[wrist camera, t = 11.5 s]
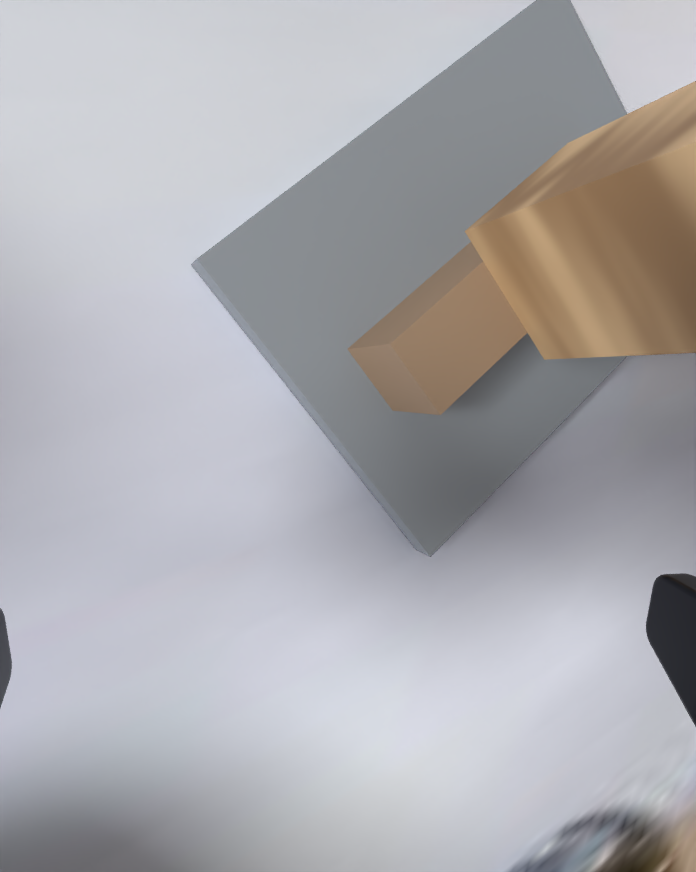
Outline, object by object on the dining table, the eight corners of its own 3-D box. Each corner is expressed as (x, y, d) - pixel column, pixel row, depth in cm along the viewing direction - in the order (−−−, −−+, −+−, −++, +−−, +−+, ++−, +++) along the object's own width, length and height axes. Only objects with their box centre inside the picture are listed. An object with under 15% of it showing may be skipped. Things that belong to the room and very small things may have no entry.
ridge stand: (416, 549, 23) (481, 582, 19) (191, 264, 19) (218, 237, 16) (685, 277, 27) (783, 261, 23) (541, -3, 23) (629, -76, 19)
